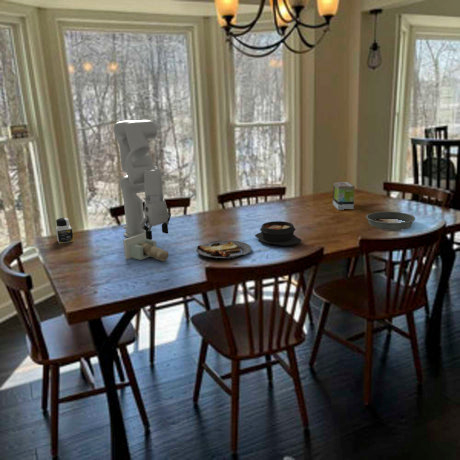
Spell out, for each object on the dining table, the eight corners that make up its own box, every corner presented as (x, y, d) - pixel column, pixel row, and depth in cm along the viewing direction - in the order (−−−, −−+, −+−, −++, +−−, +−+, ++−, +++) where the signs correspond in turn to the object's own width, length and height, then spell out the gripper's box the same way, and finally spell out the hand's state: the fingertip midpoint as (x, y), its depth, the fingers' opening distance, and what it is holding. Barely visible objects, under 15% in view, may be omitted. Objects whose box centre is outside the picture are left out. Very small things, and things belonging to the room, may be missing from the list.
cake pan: (394, 217, 254) (394, 209, 253) (425, 228, 231) (425, 219, 230) (356, 222, 247) (356, 214, 246) (384, 233, 224) (384, 225, 223)
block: (130, 257, 203) (129, 244, 201) (147, 251, 210) (146, 239, 209) (140, 260, 199) (139, 247, 197) (157, 253, 207) (156, 241, 205)
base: (125, 258, 202) (123, 239, 200) (148, 250, 213) (146, 231, 210) (127, 259, 201) (125, 240, 199) (150, 250, 212) (148, 232, 210)
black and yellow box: (59, 244, 228) (55, 221, 225) (57, 240, 234) (53, 218, 231) (73, 241, 231) (70, 219, 228) (71, 238, 237) (68, 216, 234)
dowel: (138, 253, 203) (138, 243, 201) (146, 250, 207) (146, 240, 205) (160, 262, 196) (160, 252, 194) (168, 259, 199) (168, 249, 197)
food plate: (207, 264, 191) (207, 256, 190) (189, 249, 211) (189, 242, 211) (259, 256, 201) (259, 248, 200) (237, 242, 221) (237, 236, 220)
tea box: (354, 209, 272) (355, 185, 268) (337, 210, 273) (338, 186, 268) (348, 204, 287) (349, 181, 283) (332, 204, 287) (333, 181, 283)
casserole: (246, 240, 222) (245, 224, 220) (273, 232, 233) (273, 216, 231) (282, 252, 203) (282, 234, 201) (310, 243, 214) (310, 226, 212)
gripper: (145, 203, 183) (148, 243, 188) (174, 194, 196) (177, 232, 201) (132, 201, 187) (136, 240, 192) (162, 192, 200) (165, 229, 205)
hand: (157, 236), depth 197 cm, fingers open, 9 cm apart
